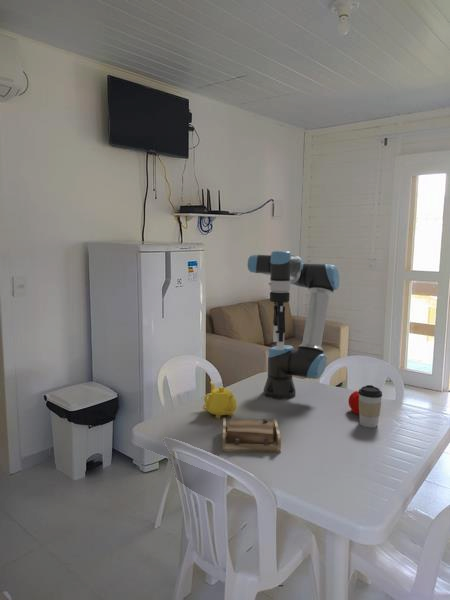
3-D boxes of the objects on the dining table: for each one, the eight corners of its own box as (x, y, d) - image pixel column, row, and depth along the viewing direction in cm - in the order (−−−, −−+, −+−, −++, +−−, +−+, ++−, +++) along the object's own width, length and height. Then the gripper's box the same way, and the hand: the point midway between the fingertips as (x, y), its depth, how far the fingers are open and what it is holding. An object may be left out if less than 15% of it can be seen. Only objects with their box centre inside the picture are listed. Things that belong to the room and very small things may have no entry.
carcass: (223, 432, 170) (223, 418, 169) (275, 432, 170) (276, 419, 169) (222, 451, 154) (222, 436, 153) (280, 452, 154) (281, 437, 153)
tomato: (376, 419, 184) (377, 398, 183) (346, 414, 189) (347, 394, 188) (378, 410, 194) (379, 390, 193) (349, 406, 198) (350, 386, 197)
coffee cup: (382, 429, 174) (384, 392, 172) (357, 427, 176) (359, 390, 174) (378, 420, 183) (380, 385, 181) (355, 418, 185) (357, 383, 183)
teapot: (193, 408, 194) (193, 383, 192) (224, 403, 200) (224, 378, 199) (213, 425, 176) (213, 397, 174) (246, 419, 182) (246, 392, 181)
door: (230, 431, 168) (230, 416, 168) (273, 434, 166) (273, 418, 166) (226, 444, 158) (226, 428, 157) (272, 447, 155) (272, 431, 155)
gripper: (267, 288, 184) (266, 338, 187) (273, 295, 160) (271, 353, 162) (285, 288, 184) (284, 338, 187) (294, 295, 160) (292, 353, 162)
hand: (278, 345), depth 175 cm, fingers open, 13 cm apart
